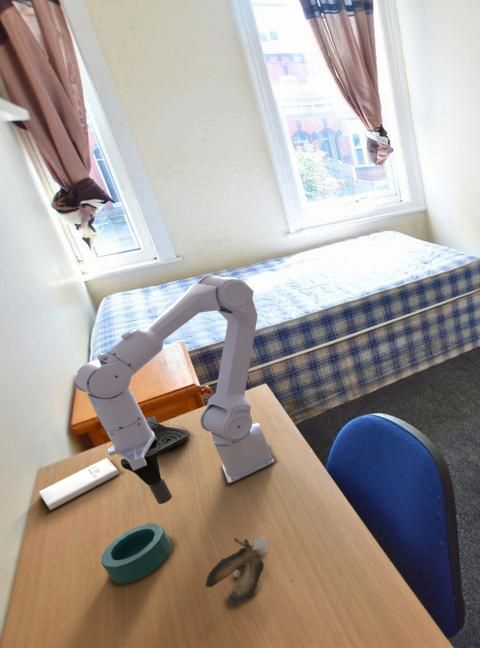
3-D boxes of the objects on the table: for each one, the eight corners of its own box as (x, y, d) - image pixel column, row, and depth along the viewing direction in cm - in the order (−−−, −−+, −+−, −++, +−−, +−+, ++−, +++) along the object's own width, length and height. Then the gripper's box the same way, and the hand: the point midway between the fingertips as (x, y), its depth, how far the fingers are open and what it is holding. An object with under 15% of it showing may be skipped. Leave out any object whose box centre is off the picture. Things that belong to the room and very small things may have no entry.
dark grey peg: (171, 492, 94) (149, 449, 90) (172, 499, 92) (150, 455, 88) (157, 499, 93) (134, 455, 89) (158, 506, 91) (134, 462, 87)
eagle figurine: (226, 555, 83) (196, 596, 74) (240, 523, 82) (211, 561, 73) (268, 569, 84) (243, 612, 75) (282, 538, 83) (259, 577, 74)
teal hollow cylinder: (169, 531, 91) (160, 515, 89) (173, 561, 84) (164, 544, 83) (111, 559, 86) (101, 543, 84) (111, 593, 79) (100, 577, 78)
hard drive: (41, 496, 104) (108, 462, 113) (51, 511, 99) (120, 474, 108) (38, 491, 103) (105, 456, 112) (47, 505, 99) (117, 468, 108)
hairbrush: (158, 404, 130) (192, 429, 115) (164, 415, 131) (198, 441, 116) (123, 420, 124) (154, 449, 109) (129, 432, 125) (160, 461, 110)
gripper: (97, 414, 88) (128, 470, 94) (95, 450, 78) (129, 511, 83) (142, 398, 92) (169, 452, 98) (146, 431, 82) (176, 490, 87)
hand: (154, 478), depth 91 cm, fingers closed on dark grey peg, 2 cm apart
